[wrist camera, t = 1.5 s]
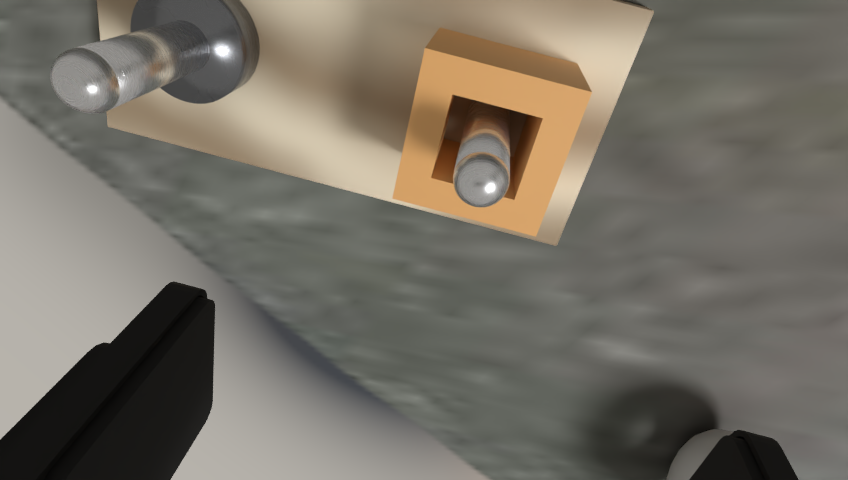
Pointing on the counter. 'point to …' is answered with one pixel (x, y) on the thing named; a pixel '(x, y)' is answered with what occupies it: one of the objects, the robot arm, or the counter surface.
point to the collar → (504, 87)
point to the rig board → (382, 86)
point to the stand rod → (483, 155)
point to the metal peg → (163, 56)
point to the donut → (694, 454)
